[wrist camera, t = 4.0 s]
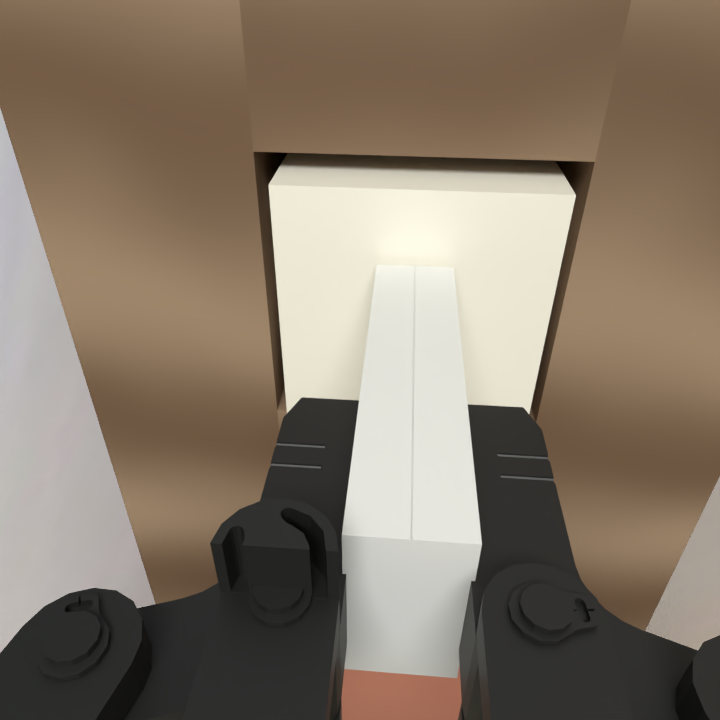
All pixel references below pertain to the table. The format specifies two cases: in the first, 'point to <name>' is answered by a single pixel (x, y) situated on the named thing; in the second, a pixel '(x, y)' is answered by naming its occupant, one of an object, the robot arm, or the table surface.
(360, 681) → the button middle
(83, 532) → the table surface
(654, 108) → the wooden button box
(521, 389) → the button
